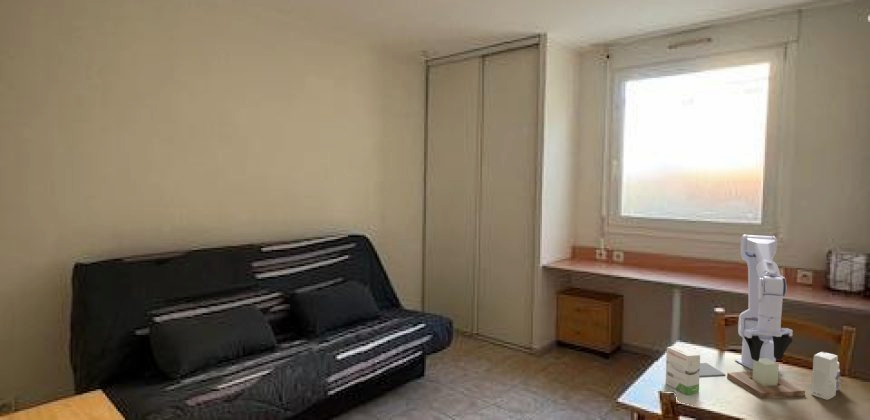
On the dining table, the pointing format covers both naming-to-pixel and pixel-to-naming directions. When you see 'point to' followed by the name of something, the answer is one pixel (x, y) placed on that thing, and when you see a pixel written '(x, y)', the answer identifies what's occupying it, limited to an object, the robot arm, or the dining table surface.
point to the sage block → (765, 372)
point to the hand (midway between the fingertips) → (766, 359)
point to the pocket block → (761, 391)
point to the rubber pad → (709, 370)
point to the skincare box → (824, 375)
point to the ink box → (683, 369)
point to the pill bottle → (838, 377)
